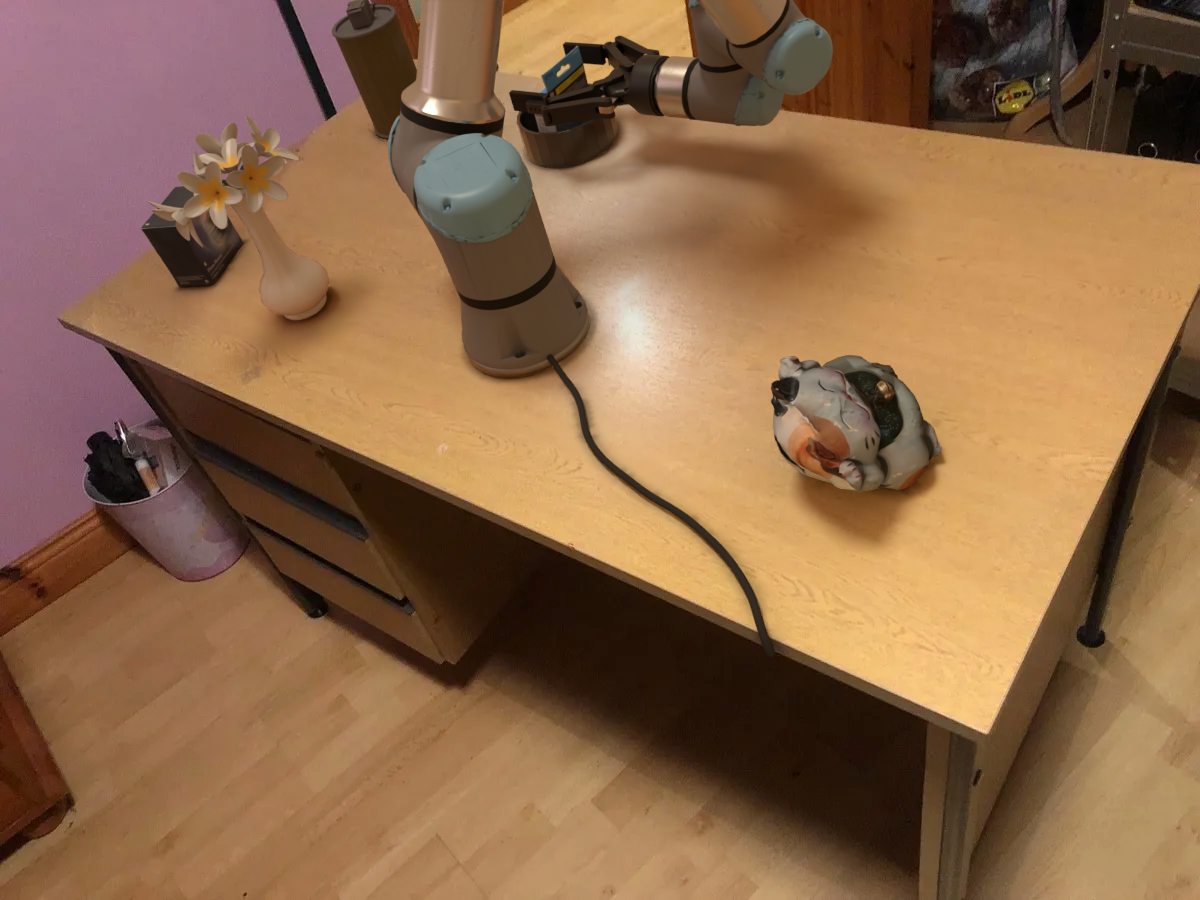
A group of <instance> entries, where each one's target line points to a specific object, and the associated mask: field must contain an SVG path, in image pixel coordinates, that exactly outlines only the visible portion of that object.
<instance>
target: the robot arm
mask: <svg viewBox="0 0 1200 900" xmlns="http://www.w3.org/2000/svg"><path fill="white" fill-rule="evenodd" d="M687 6H688V8H689V10H690V16H691V23H692V29H693V34H694V35H693V36H694V39H695V46H696V51H697V57H692V56H678V55H671V56H669V55H663V54H662V55H661V54H660V51H659V50H658V49H652V48H647V47H646V46H643V45H641V44H639V43H637V42H635V41H634V40H631V39H629V38H627V37H626V36H624V35H617V36H615V37H614V41H613V42H612V41H606V42H605V43H604V44H603V43H587V42H573V41H571V42H570V41H565V42H564V43H563V44H562V47H563V52H564V55H565V56H566V55H567V54H568V53H570V52H571V51H572V50H573V49H574V48H575V47H576V46H578V47H579V50H580V54H581V58H582V61H583V65H584V64H585V65H594V66H595V65H596V66H597V65H599V66H605V64H606V63H607V64H608V67H612V70H611V71H610V73H609V74H608V75H607V76H605V77H604V78H599V79H597V80H594V81H593V82H592V83H591V84H592V86H589V87H585V88H582V89H578V90H575V91H571V92H568V93H564V94H561V95H557V96H554V97H550V95H549V94H547V93H540V92H537V91H527V90H516V89H511V90H510V91H509V92H508V95H509V99H510V101H511V104H512V108H513V111H515V112H519V111H521V112H528V113H531V114H539V115H542V117H543V120H544V124H545V126H547V127H548V126H555V125H561V124H567V123H574V122H580V121H586V120H592V119H612V118H614V117H615V118H616V111H615V109H617V107H621V106H630V107H632V109H634V110H635V111H636V113H639V115H643V116H652V117H659V118H660V117H667V118H674V119H675V118H676V119H683V120H684V119H686V120H689V121H699V122H700V121H701V122H708V123H717V124H718V123H719V124H724V125H734V126H736V127H742V126H743V127H763V126H767V125H769V124H771V123H772V122H774V120H775V118H776V117H777V116H778V114H779V112H780V110H781V107H782V105H783V101H784V95H787V96H799V95H803V94H806V93H808V92H810V91H812V90H813V89H814V88H816V87H817V85H818V84H819V83H820V82H821V81H822V80H823V79H824V78H825V76H826V75H827V73H828V71H829V69H830V67H831V64H832V61H833V55H834V48H833V46H834V45H833V41H832V38H831V35H830V34H829V33H828V31H827V30H826V29H825V28H823V26H821V25H819V24H818V22H817V21H816V20H814V19H812V18H810V17H806V16H805V15H804V14H803V13H802V12H801V11H800V9H799V7H798V6H797V5H796V3H795V2H794V0H688V5H687ZM504 7H505V0H421V5H420V18H419V19H420V20H419V21H420V22H419V35H418V49H417V63H416V64H417V65H416V69H417V77H416V81H415V82H413V83H412V84H411V85H410V86H408V87H407V88H406V89H404V90H403V92H402V94H401V108H400V115H398V117H397V118H396V120H395V121H394V123H393V126H392V128H391V131H390V134H389V139H387V154H388V161H389V165H390V169H391V173H392V175H393V176H394V179H395V181H396V183H397V184H398V187H399V188H400V190H401V191H402V192H403V194H405V196H406V197H407V199H408V200H409V202H410V204H411V205H412V207H413V209H414V210H415V211H416V213H417V214H418V216H419V217H420V219H421V220H422V222H423V224H424V226H425V227H426V229H427V230H428V232H429V234H430V236H431V237H432V239H433V241H434V243H435V245H436V247H437V249H438V251H439V253H440V255H441V257H442V260H443V262H444V265H445V267H446V269H447V272H448V274H449V277H450V278H451V281H452V283H453V286H454V288H455V291H456V292H457V293H456V294H457V295H458V297H459V301H460V321H461V323H460V324H461V340H462V341H461V342H462V345H463V349H464V351H465V354H466V356H467V358H468V359H469V362H470V363H471V364H472V365H473V367H474V368H476V369H477V370H478V371H480V372H481V373H484V374H486V375H489V376H493V377H498V378H521V377H526V376H531V375H535V374H537V373H541V372H544V371H546V370H548V369H551V368H553V370H554V371H555V373H556V374H557V376H558V377H559V378H560V380H561V381H562V382H563V383H564V385H565V386H566V387H567V389H568V390H569V392H570V394H571V395H572V397H573V399H574V401H575V404H576V407H577V412H578V417H579V422H580V428H581V432H582V433H581V434H582V435H583V438H584V440H585V442H586V444H587V446H588V448H589V449H590V451H591V452H592V453H593V455H594V456H595V458H597V460H599V461H600V463H601V464H602V465H604V466H605V467H606V468H607V469H608V470H609V471H610V472H612V474H614V475H616V476H617V477H618V478H619V479H621V481H623V482H625V483H626V484H627V485H629V486H630V488H632V489H633V490H635V491H636V492H638V493H639V494H640V495H642V496H643V497H644V498H646V499H647V500H649V501H651V502H652V503H654V504H655V505H658V506H659V507H661V508H663V509H664V510H666V511H668V512H669V513H671V514H672V515H674V516H676V518H678V519H680V520H681V521H682V522H683V523H685V524H686V525H688V526H689V527H690V528H691V529H693V531H695V532H696V533H697V534H698V535H699V536H700V537H702V539H703V540H704V541H705V542H706V543H707V544H708V545H709V546H710V547H711V548H713V549H714V551H715V552H716V553H717V554H718V555H719V556H720V557H721V559H722V560H723V561H724V562H725V564H726V565H727V567H728V568H729V569H730V571H731V572H732V573H733V575H734V577H735V579H736V580H737V582H738V583H739V585H740V587H741V588H742V591H743V593H744V595H745V596H746V599H747V601H748V604H749V608H750V610H751V614H752V617H753V621H754V625H755V627H756V631H757V634H758V637H759V639H760V643H761V645H762V647H763V649H764V653H765V655H766V656H767V657H769V658H773V657H774V656H775V654H776V651H775V649H774V646H773V643H772V641H771V638H770V635H769V633H768V630H767V627H766V624H765V620H764V617H763V614H762V610H761V606H760V604H759V601H758V598H757V595H756V593H755V591H754V589H753V587H752V585H751V583H750V581H749V580H748V578H747V576H746V575H745V573H744V571H743V569H742V568H741V567H740V565H739V564H738V563H737V561H736V560H735V559H734V557H733V556H732V555H731V554H730V553H729V552H728V550H727V549H726V548H725V547H724V546H723V544H722V543H720V541H719V540H717V539H716V538H715V536H714V535H712V534H711V533H710V531H708V530H707V529H706V528H705V527H703V526H702V525H701V524H700V523H699V522H698V521H697V520H695V518H693V517H692V516H691V515H690V514H688V513H687V512H685V511H683V510H682V509H680V508H679V507H677V506H675V505H674V504H672V503H670V502H669V501H667V500H666V499H663V498H662V497H660V496H659V495H657V494H655V493H654V492H652V491H651V490H650V489H648V488H646V487H645V486H644V485H642V484H641V483H639V481H637V480H636V479H634V478H633V477H631V475H629V474H628V473H626V472H625V471H624V470H622V468H620V467H619V466H617V465H616V464H615V463H614V462H613V461H611V460H610V459H609V458H608V457H607V456H606V455H605V454H604V453H603V451H602V450H601V449H600V448H599V447H598V445H597V443H596V442H595V440H594V438H593V436H592V434H591V432H590V428H589V424H588V419H587V413H586V408H585V405H584V404H585V403H584V401H583V397H582V396H581V393H580V392H579V390H578V388H577V387H576V385H575V383H574V382H573V381H572V380H571V379H570V377H569V376H568V375H567V373H566V372H565V371H564V369H563V368H562V367H561V365H560V363H563V361H565V360H566V359H567V358H569V357H570V356H571V355H572V354H573V353H575V351H577V349H578V348H579V347H580V346H581V345H582V343H583V342H584V341H585V338H586V337H587V336H588V335H587V334H588V332H589V329H590V324H591V323H590V322H591V321H590V320H591V318H590V314H589V310H588V307H587V304H586V301H585V300H584V298H583V296H582V294H581V292H580V291H579V290H578V289H577V287H576V286H575V285H574V284H573V283H572V281H571V280H570V279H569V278H568V277H567V275H566V274H565V273H564V271H563V270H562V269H561V268H560V266H558V264H557V261H556V258H555V255H554V252H553V248H552V245H551V243H550V239H549V236H548V232H547V230H546V226H545V224H544V220H543V217H542V213H541V210H540V209H539V204H538V201H537V198H536V196H535V193H534V189H533V181H532V178H531V174H530V172H529V169H528V167H527V165H526V164H525V162H524V161H523V160H524V159H523V158H522V156H521V154H520V152H519V151H518V149H517V148H516V147H515V146H514V145H513V144H512V143H511V142H509V141H508V140H506V139H505V138H503V133H504V126H505V125H504V124H505V115H506V108H505V106H504V104H503V103H502V101H501V100H500V99H499V97H498V96H497V95H496V93H495V84H496V75H497V67H498V59H499V52H500V51H499V50H500V41H501V34H502V24H503V17H504V9H505V8H504ZM565 56H564V57H565ZM606 59H607V60H606ZM601 87H603V92H604V95H603V96H601V94H600V88H601ZM605 96H606V97H605Z"/></svg>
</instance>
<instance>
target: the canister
mask: <svg viewBox="0 0 1200 900" xmlns="http://www.w3.org/2000/svg"><path fill="white" fill-rule="evenodd" d="M345 12H346V15H345V16H343V17H342V18H340V19H339V20H338V21H337V22H336V23H334V24H333V26H332V28H331V35H332V36H333V38H335V40H336V42H337V45H338V47H339V49H340V52H341V55H342V56H343V58H344V61H345V63H346V66H347V68H348V70H349V72H350V74H351V77H352V79H353V81H354V84H355V86H356V88H357V90H358V93H359V95H360V97H361V99H362V102H363V104H364V106H365V108H366V111H367V113H368V115H369V118H370V120H371V122H372V124H373V128H374V133H375V135H376V136H378V137H380V138H381V139H386V140H389V134H390V131H391V128H392V126H393V123H394V121H395V120H396V118H397V117H398V115H400V108H401V94H402V92H403V90H404V89H406V88H407V87H408V86H410V85H411V84H412V83H413V82H415V81H416V77H417V65H416V64H415V60H414V59H413V55H412V53H411V51H410V48H409V45H408V43H407V40H406V38H405V37H406V36H405V35H404V32H403V30H402V27H401V25H400V22H399V19H398V17H397V11H396V8H395V7H394V6H392V5H390V4H376V3H375V2H370V1H369V0H352V1H348V3H347V7H346V10H345Z"/></svg>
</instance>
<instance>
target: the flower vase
mask: <svg viewBox="0 0 1200 900" xmlns="http://www.w3.org/2000/svg"><path fill="white" fill-rule="evenodd" d="M245 120H246V123H247V125H248V129H249V130H250V132H249V135H250V137H251V139H252V140H253V141H252V142H247V141H241V142H238V141H237V138H238V125H237V123H236V122H230V123H228V124H227V125H226V126H225V127H224V128H223V129H222V132H221V136H220V141H219V140H218V139H217V138H216V137H214V136H212V135H211V134H208V133H198V134H197V135H196V136H195V142H196V145H198V147H199V148H201V150H202V151H204V152H206V153H202V154H198V152H197V150H196V149H195V147H193V155H192V161H193V164H192V167H193V169H194V171H195V173H192V172H191V171H190V172H189V171H179V172H178V174H177V179H178V182H179V183H180V184H181V185H182V186H184V187H185V188H186V189H188V190H189V191H191V192H193V193H194V197H192V198H191V199H190V200H188V202H187V203H186V204H185V206H184V208H176V207H170V206H165V205H161V203H157V202H153V201H150V200H146V202H147V203H148V204H150V205H151V206H153V207H155V208H152V209H151V212H152V214H153V213H154V214H156V215H157V216H159V217H161V218H163V219H165V220H168V221H174V220H176V221H177V222H176V228H177V230H178V231H179V233H180V234H181V235H182V236H183V237H184V238H185V239H186V240H188V241H190V233H191V235H192V237H193V238H194V239H195V241H196V242H197V243H198V244H199V245H201V246H202V247H203V245H202V243H201V241H200V239H199V237H198V235H197V233H196V231H195V228H194V226H193V223H192V220H191V218H194V217H197V216H199V215H201V214H203V213H204V212H205V211H207V210H208V209H209V208H210V207H211V208H210V216H211V219H212V221H213V223H214V224H215V225H216V226H217V227H218V228H220V229H224V228H226V226H227V220H228V219H227V216H228V212H227V208H226V205H229V206H230V207H231V208H232V210H234V212H235V213H236V214H237V216H238V218H240V220H241V221H242V223H243V225H244V226H245V229H246V230H247V232H248V233H249V235H250V238H251V239H252V241H253V243H254V245H255V248H257V250H258V253H259V255H260V258H261V262H262V269H263V270H262V272H263V273H262V275H261V279H260V281H259V286H258V293H259V298H260V301H261V304H262V305H263V306H264V307H265V309H267V310H268V311H269V312H270V313H271V312H272V313H274V314H276V315H280V316H284V317H285V318H286V319H288V320H290V321H302V320H306V319H308V318H310V317H313V316H315V315H316V314H318V313H319V312H321V310H322V309H323V308H324V306H325V305H326V303H327V300H328V297H327V293H328V290H329V286H330V275H329V273H328V271H327V269H326V268H325V267H324V266H323V265H322V264H321V263H320V262H319V261H317V260H315V259H313V258H311V257H308V256H305V255H301V254H298V252H297V253H296V252H295V251H294V250H293V249H291V248H290V247H289V246H288V245H287V244H286V243H285V241H284V240H283V238H282V237H281V236H280V234H279V232H278V231H277V229H276V227H275V226H274V224H273V223H272V221H271V220H270V218H269V217H268V215H267V213H266V212H265V210H264V207H263V202H264V196H263V195H265V196H267V197H268V198H271V199H272V200H275V201H278V202H285V201H287V200H288V199H289V193H288V191H287V189H286V188H285V187H284V185H282V184H281V183H280V182H278V181H276V180H275V179H272V178H274V177H275V176H277V175H278V174H280V173H281V172H282V170H283V168H284V166H285V165H288V160H289V161H296V162H297V161H299V160H300V159H299V157H298V156H297V155H296V154H295V153H293V152H292V151H290V150H288V149H286V148H283V147H278V146H279V144H280V142H281V137H280V134H279V132H278V131H277V130H276V129H275V128H272V127H268V128H267V129H265V131H264V132H263V134H262V131H261V129H260V128H259V125H258V124H257V123H256V122H255V120H253V118H251V117H250V116H249V115H245ZM254 147H255V148H254ZM260 157H264V158H266V159H265V160H264V161H262V162H261V163H260ZM241 164H242V165H241ZM240 165H241V166H240ZM239 167H240V168H239ZM238 168H239V169H238ZM223 175H226V176H225V179H223ZM157 208H158V209H157Z"/></svg>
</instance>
